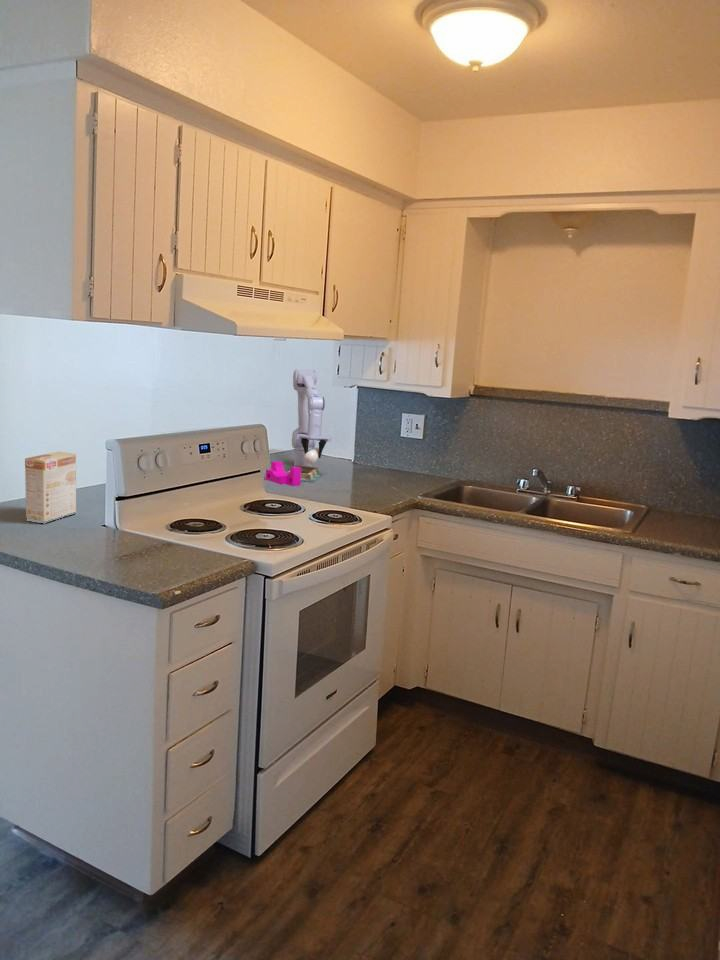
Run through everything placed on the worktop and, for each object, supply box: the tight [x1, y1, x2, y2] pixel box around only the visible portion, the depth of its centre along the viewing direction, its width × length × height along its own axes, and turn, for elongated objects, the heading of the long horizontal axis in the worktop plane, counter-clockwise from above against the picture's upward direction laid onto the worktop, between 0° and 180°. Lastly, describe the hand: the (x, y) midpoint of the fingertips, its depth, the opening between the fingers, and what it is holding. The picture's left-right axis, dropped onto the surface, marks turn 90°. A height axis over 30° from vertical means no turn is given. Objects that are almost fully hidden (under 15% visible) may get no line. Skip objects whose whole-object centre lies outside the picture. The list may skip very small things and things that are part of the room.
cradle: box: [285, 465, 324, 483], centre depth 328 cm, size 20×14×3 cm
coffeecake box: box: [24, 451, 77, 521], centre depth 235 cm, size 15×7×20 cm, turn 162°
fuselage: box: [304, 447, 323, 465], centre depth 326 cm, size 12×5×5 cm, turn 172°
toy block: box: [265, 460, 302, 487], centre depth 313 cm, size 15×6×8 cm, turn 44°
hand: (312, 457), depth 326 cm, fingers closed on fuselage, 5 cm apart
